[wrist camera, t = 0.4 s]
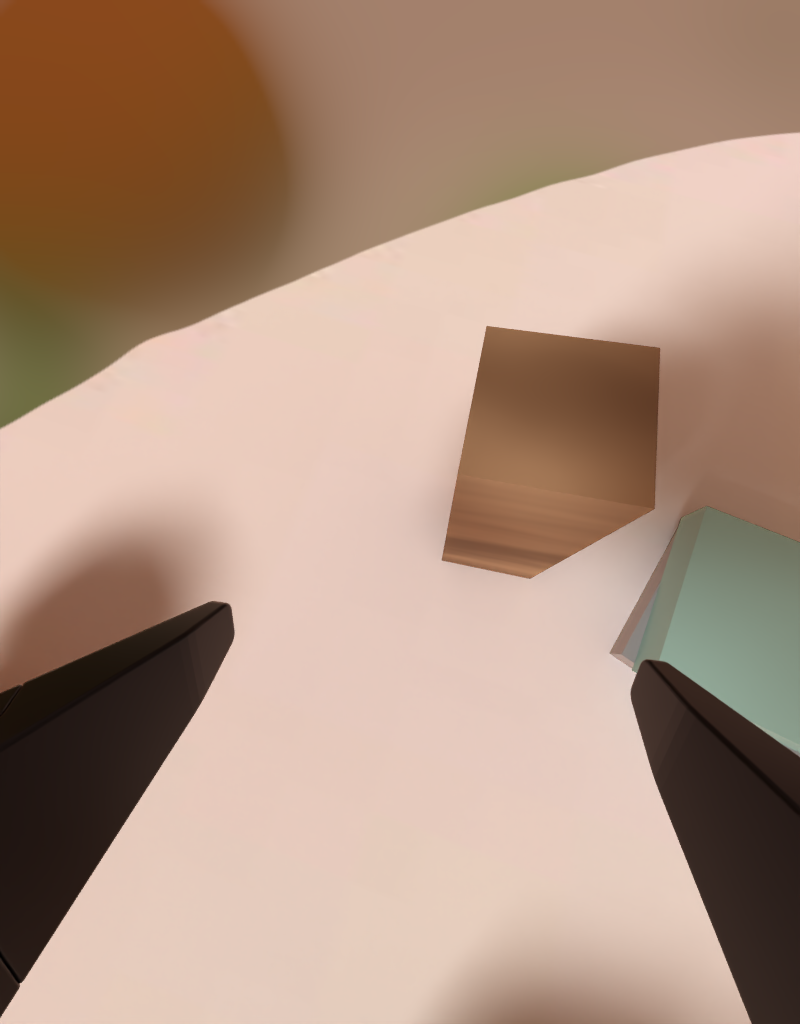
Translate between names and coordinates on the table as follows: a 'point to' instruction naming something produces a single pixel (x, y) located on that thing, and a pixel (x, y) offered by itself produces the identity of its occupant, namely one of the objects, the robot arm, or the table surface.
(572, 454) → the walnut pillar
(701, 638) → the teal tile
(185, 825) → the table surface
